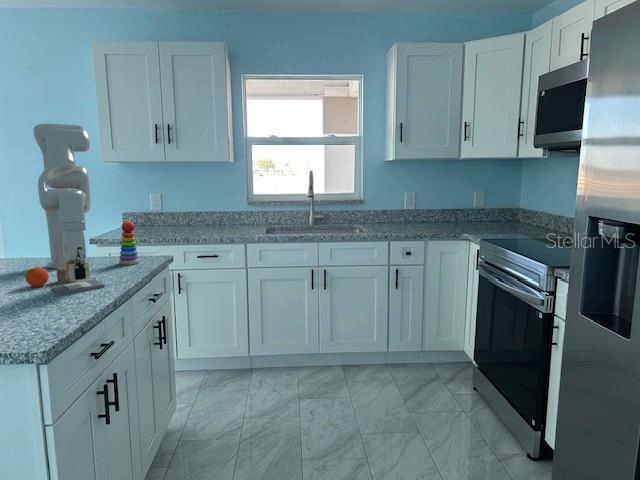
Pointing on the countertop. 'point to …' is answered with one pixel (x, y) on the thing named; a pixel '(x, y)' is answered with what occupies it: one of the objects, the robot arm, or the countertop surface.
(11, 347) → the countertop surface
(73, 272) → the maple cube
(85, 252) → the robot arm
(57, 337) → the countertop surface
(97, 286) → the board
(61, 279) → the walnut cube
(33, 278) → the clementine
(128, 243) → the stacking toy
